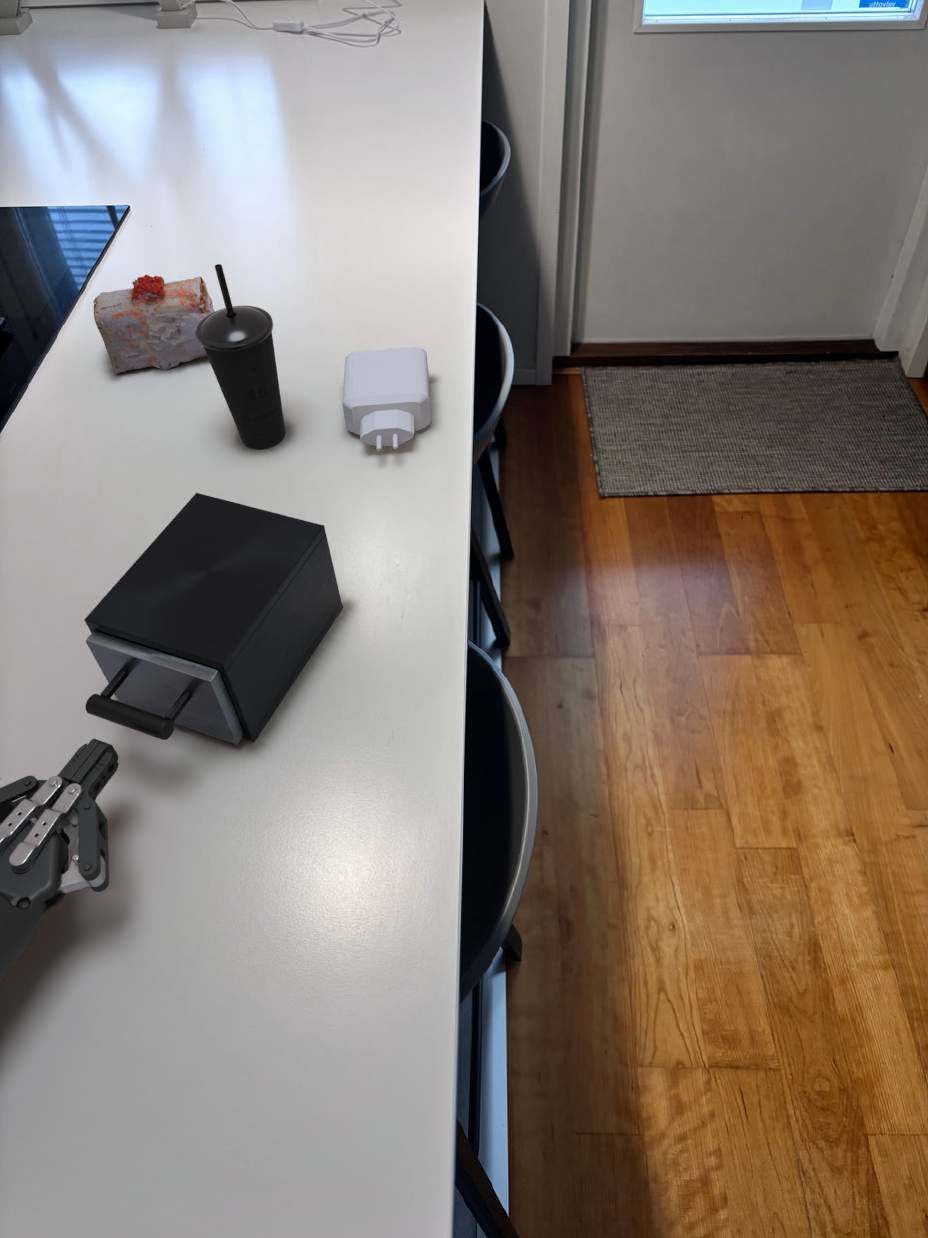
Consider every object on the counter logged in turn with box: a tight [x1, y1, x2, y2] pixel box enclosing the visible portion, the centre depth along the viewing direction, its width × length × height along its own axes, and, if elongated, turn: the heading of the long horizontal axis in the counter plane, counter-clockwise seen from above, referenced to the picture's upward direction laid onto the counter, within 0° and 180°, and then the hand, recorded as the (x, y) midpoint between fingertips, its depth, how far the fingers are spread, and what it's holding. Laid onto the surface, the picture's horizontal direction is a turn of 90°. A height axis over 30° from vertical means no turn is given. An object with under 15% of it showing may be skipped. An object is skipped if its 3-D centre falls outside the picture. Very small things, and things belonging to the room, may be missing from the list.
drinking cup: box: [196, 263, 286, 450], centre depth 97 cm, size 8×8×20 cm
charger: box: [342, 346, 432, 452], centre depth 103 cm, size 5×9×15 cm
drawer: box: [85, 630, 244, 745], centre depth 78 cm, size 19×12×8 cm, turn 157°
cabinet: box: [84, 492, 344, 743], centre depth 80 cm, size 16×13×10 cm
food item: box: [92, 274, 216, 375], centre depth 113 cm, size 14×8×10 cm, turn 104°
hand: (106, 747), depth 70 cm, fingers closed
